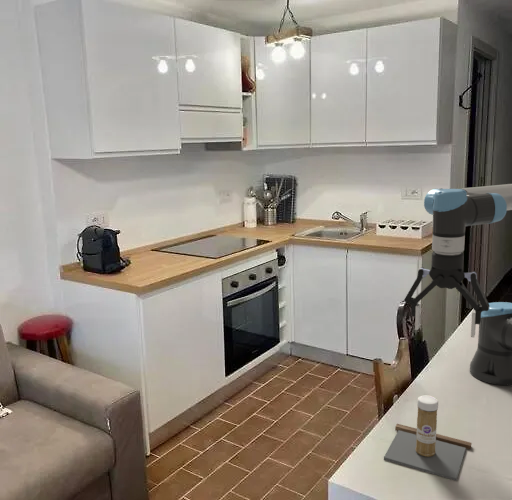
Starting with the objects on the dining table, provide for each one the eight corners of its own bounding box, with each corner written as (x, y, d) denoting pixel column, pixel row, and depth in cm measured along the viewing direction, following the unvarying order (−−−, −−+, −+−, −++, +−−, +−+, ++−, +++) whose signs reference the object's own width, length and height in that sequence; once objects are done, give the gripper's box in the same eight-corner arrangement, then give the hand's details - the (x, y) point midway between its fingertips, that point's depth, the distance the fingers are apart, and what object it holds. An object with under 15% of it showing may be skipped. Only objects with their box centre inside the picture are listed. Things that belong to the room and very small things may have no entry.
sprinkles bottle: (418, 457, 121) (420, 403, 119) (413, 446, 126) (415, 394, 123) (438, 457, 121) (441, 403, 118) (432, 446, 125) (434, 394, 123)
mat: (398, 432, 133) (398, 430, 133) (465, 450, 125) (465, 447, 125) (383, 459, 122) (383, 457, 122) (456, 480, 114) (456, 478, 114)
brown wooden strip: (396, 427, 135) (397, 423, 135) (471, 446, 126) (471, 442, 126) (395, 429, 134) (395, 426, 134) (470, 449, 125) (470, 445, 125)
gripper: (393, 251, 133) (392, 330, 137) (502, 258, 121) (496, 344, 126) (400, 245, 139) (399, 320, 144) (503, 251, 128) (498, 333, 132)
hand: (444, 331), depth 135 cm, fingers open, 13 cm apart
